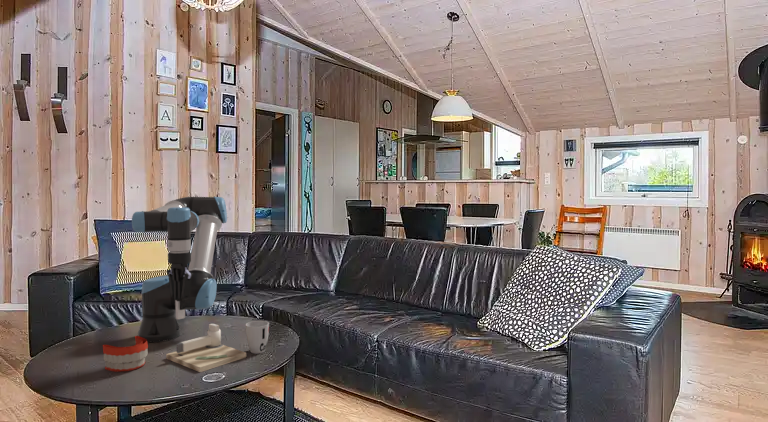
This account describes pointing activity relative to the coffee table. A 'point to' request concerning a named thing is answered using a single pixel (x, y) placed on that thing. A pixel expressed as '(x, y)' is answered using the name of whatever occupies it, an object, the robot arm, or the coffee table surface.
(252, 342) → the cup
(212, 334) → the lever
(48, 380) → the coffee table surface
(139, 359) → the toy
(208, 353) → the board
